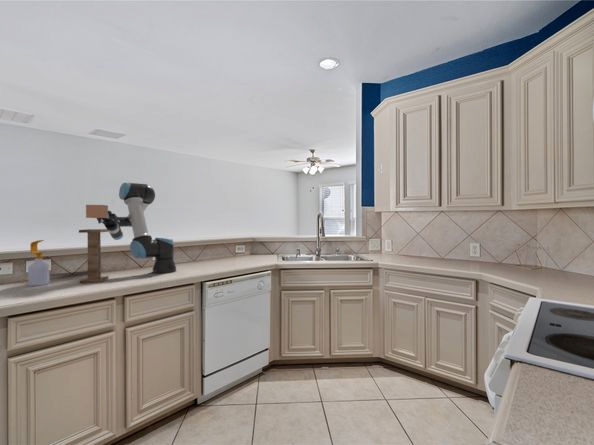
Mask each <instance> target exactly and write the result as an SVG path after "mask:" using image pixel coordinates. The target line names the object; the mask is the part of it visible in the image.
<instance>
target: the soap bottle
mask: <svg viewBox="0 0 594 445" xmlns="http://www.w3.org/2000/svg"><path fill="white" fill-rule="evenodd" d="M44 241H45V240H44V239H39V240H36V241H32V242H31V243H30V253H31V254H35V256H36V257H35V258H34V262H32V263H31V264H29V265H28V268H27V276H28V278H27V283H28V285H27V286H30V287H41V286H47V285H49V284H50V265H49V264H48V263H47V262H44V260H43V257H42V255H43V254H45V253H46V252H45V251H38V244H39V243H41V242H44Z"/></svg>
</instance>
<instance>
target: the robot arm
mask: <svg viewBox="0 0 594 445" xmlns="http://www.w3.org/2000/svg"><path fill="white" fill-rule="evenodd" d="M118 195H119V196H118V197H119V200H122V201H124V202H123V203H124V204H125V205H127V209H128V215H127V216H117V214H115V213H114V212H113V213H112V211H111V210H108V216H109V217H108V218H96V220H97V221H98V222H97V223H98V224H99V225H100V224H103V225H104V227H105V229H108V232H107V233H109V235H110V236H111V238H112V239H113V240H115V241H118V240H121V239H122V238H123V237H124V233H123V231H122V227H125V228H127V227H129V228H132V232H133V238H132V241H131V242H130V244H129V246H130V247H129V250H130V253H131V255H132V257H133V258H134V259H141V260H142V259H147V258H148V259H150V258H154V259H155V260H154V264H153V266H152V271H151V272H152V273H155V274H169V273H174V272H177V266H176V263H175V261H174V260H175V259H174V240H173V238H167V237H165V238H164V237H155V238H154V239H152V235H150V234H149V231H148V227H147V223H146V222H147V221H146V217H145V214H144V212H145V211H146V209H147V208H148V207H149V205H151V204H153V202H155V198H156V193H155V190H154V188H153V187H152V186H151V185H149V184H147V183H139V182H138V183H137V182H136V183H135V182H123V183H122V184H121V186H120V187H119V193H118ZM110 211H111V212H110Z"/></svg>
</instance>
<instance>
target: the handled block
mask: <svg viewBox="0 0 594 445" xmlns="http://www.w3.org/2000/svg"><path fill="white" fill-rule="evenodd" d="M108 211H110V212H112V210H109V206H108V205H105V204H85V218H86V219H97V218H108V217H109V216H108Z"/></svg>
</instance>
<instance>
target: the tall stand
mask: <svg viewBox="0 0 594 445" xmlns="http://www.w3.org/2000/svg"><path fill="white" fill-rule="evenodd" d="M79 233H80V234H83V233H85V234H86V233H87V277H85V278H82V279H80V280H79V281H78V282H79V284H95V283H96V284H97V283H98V284H99V283H103V282H105V281H107V280H109V276H105V275H103V276H102V275H101V274H102V273H101V271H102V270H101V269H102V268H101V266H102V265H101V262H102V261H101V257H102V256H101V254H102V253H101V252H102V251H101V244H102V243H101V241H102V240H101V233H109V232H108V229H106V228H103V229H101V228H100V229H99V228H98V229H96V228H95V229H94V228H93V229H92V228H91V229H90V228H88V229H78V234H79Z"/></svg>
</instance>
